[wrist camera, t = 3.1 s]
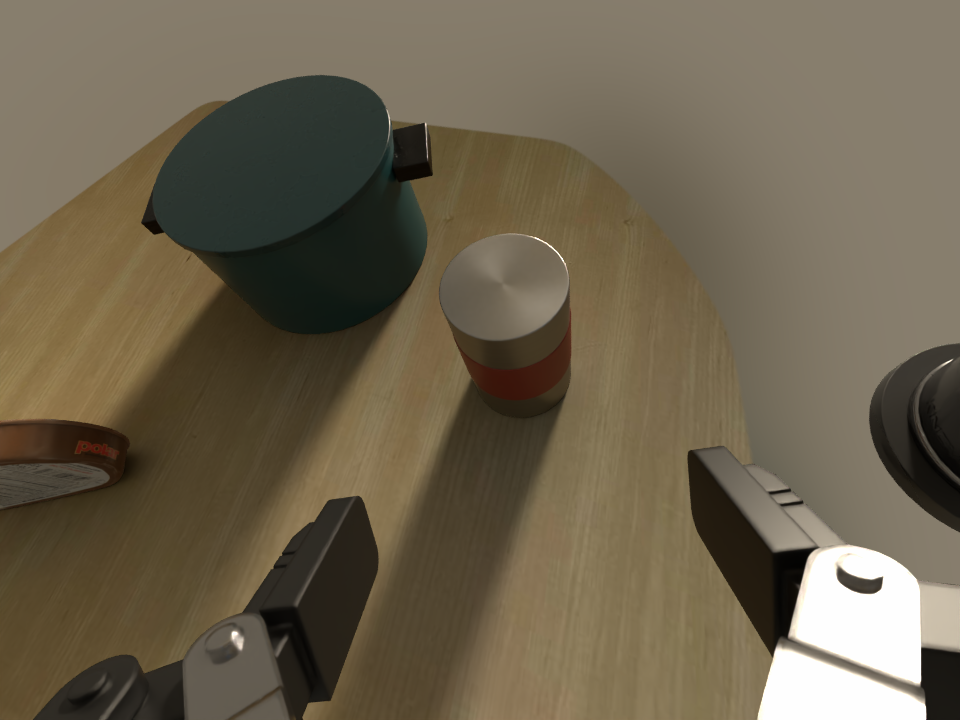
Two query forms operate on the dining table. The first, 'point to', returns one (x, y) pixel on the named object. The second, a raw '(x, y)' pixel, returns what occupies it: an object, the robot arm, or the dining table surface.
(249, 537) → the dining table surface
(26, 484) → the tin
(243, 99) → the pot
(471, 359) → the can
